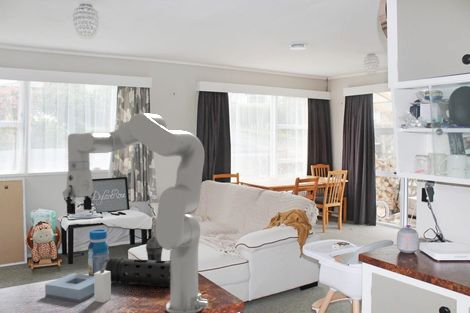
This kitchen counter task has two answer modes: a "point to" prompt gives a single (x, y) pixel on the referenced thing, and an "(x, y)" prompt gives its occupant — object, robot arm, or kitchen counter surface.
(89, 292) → the socket plate
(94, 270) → the beverage bottle
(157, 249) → the beverage cup
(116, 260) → the muzzle brake
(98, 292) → the white square peg
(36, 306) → the kitchen counter surface
